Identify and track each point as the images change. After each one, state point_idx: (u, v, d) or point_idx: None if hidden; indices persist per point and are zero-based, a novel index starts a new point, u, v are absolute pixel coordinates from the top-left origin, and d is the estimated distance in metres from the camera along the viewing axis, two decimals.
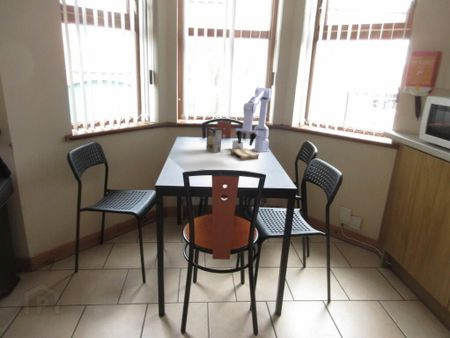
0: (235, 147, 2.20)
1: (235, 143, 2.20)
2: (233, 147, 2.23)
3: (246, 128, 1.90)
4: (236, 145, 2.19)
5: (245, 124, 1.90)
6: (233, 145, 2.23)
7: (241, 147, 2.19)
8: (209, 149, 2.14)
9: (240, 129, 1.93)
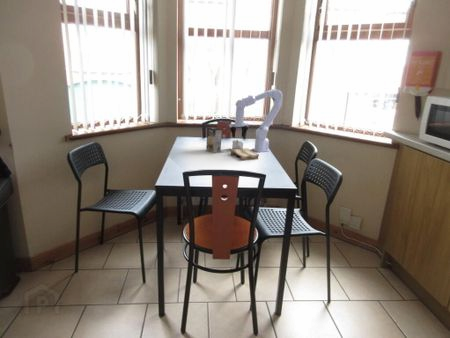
0: (235, 147, 2.20)
1: (235, 143, 2.20)
2: (233, 147, 2.23)
3: None
4: (236, 145, 2.19)
5: None
6: (233, 145, 2.23)
7: (241, 147, 2.19)
8: (209, 149, 2.14)
9: None
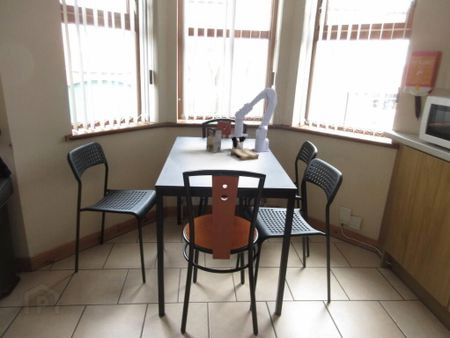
0: None
1: None
2: (233, 147, 2.23)
3: None
4: (236, 145, 2.19)
5: None
6: None
7: (241, 147, 2.19)
8: (209, 149, 2.14)
9: None
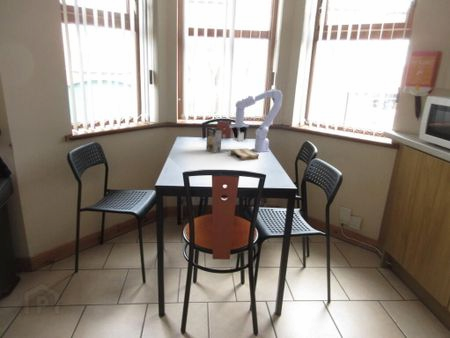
0: None
1: None
2: None
3: None
4: (237, 135, 2.17)
5: None
6: None
7: (242, 137, 2.17)
8: (209, 149, 2.14)
9: None
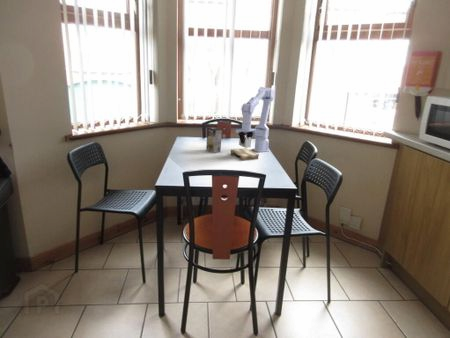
0: (243, 143, 2.03)
1: None
2: (240, 143, 2.06)
3: None
4: None
5: None
6: (240, 141, 2.06)
7: (249, 143, 2.02)
8: (209, 149, 2.14)
9: None
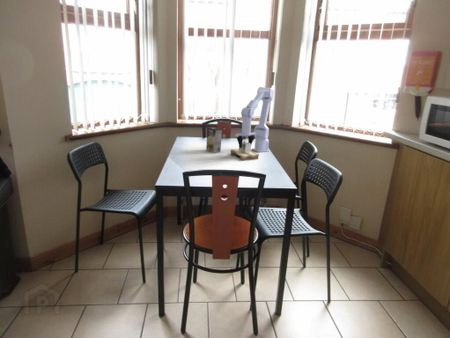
0: (242, 149, 2.04)
1: (242, 144, 2.04)
2: (240, 149, 2.07)
3: None
4: (243, 147, 2.03)
5: None
6: None
7: (248, 149, 2.03)
8: (209, 149, 2.14)
9: None
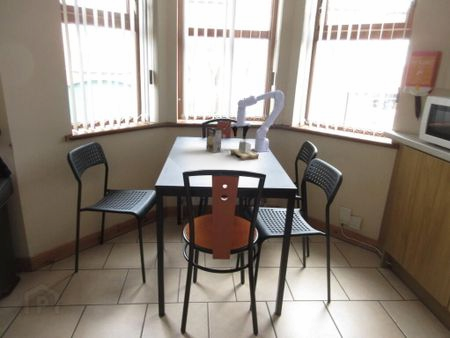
0: (242, 149, 2.04)
1: (242, 144, 2.04)
2: (240, 149, 2.07)
3: None
4: (243, 147, 2.03)
5: None
6: (240, 146, 2.07)
7: (248, 149, 2.03)
8: (209, 149, 2.14)
9: None
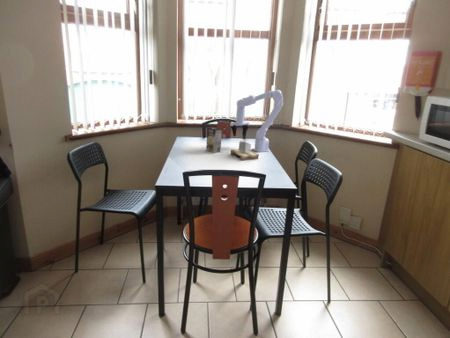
0: (242, 149, 2.04)
1: (242, 144, 2.04)
2: (240, 149, 2.07)
3: None
4: (243, 147, 2.03)
5: None
6: (240, 146, 2.07)
7: (248, 149, 2.03)
8: (209, 149, 2.14)
9: None
